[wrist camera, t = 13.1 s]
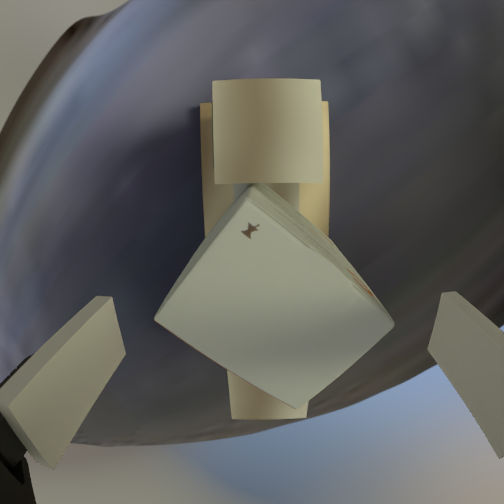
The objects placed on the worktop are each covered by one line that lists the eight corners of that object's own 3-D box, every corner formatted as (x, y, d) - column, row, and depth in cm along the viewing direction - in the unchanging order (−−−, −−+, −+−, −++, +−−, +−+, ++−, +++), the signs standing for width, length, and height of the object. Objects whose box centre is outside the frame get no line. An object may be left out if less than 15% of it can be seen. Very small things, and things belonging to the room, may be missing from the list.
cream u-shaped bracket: (325, 104, 22) (368, 66, 12) (318, 344, 28) (339, 423, 18) (202, 105, 22) (161, 68, 12) (216, 345, 28) (197, 425, 18)
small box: (204, 238, 24) (146, 319, 11) (254, 175, 22) (246, 189, 10) (282, 297, 25) (297, 413, 12) (333, 241, 23) (401, 323, 11)
